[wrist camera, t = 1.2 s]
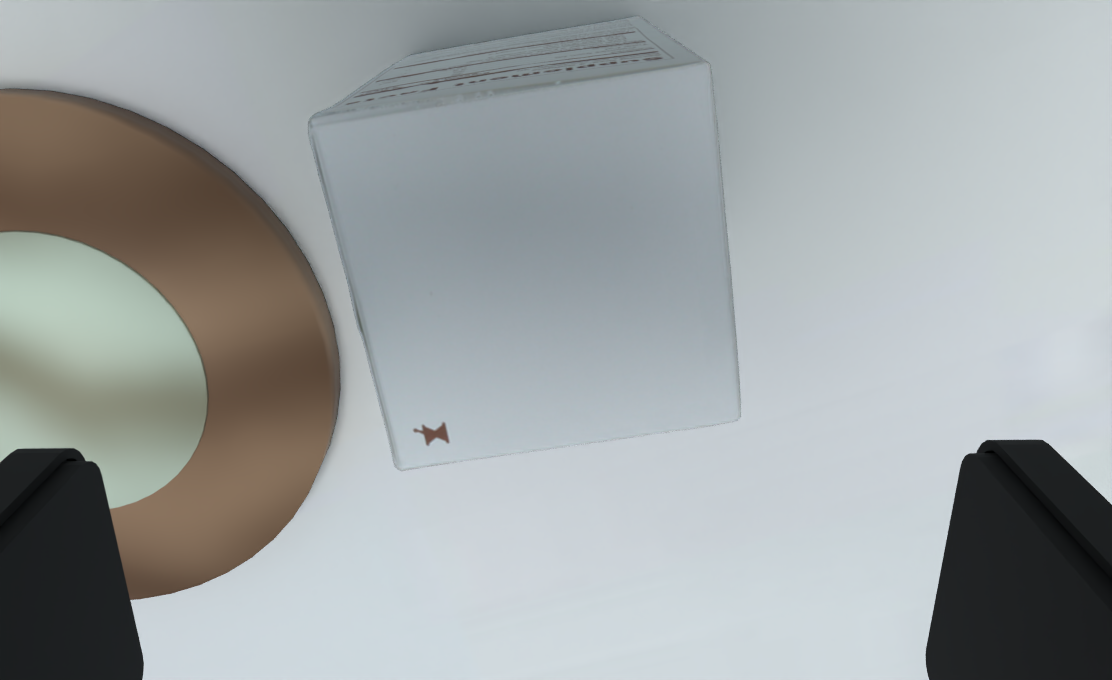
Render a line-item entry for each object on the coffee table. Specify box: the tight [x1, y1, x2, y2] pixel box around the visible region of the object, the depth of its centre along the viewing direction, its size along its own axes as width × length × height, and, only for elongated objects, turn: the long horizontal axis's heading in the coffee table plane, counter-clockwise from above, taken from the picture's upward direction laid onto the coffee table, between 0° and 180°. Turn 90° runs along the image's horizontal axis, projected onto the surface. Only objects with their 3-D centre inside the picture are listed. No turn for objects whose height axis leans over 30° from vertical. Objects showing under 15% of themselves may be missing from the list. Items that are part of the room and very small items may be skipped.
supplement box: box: [308, 16, 741, 471], centre depth 23 cm, size 7×7×13 cm
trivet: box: [0, 89, 340, 600], centre depth 30 cm, size 18×18×2 cm
